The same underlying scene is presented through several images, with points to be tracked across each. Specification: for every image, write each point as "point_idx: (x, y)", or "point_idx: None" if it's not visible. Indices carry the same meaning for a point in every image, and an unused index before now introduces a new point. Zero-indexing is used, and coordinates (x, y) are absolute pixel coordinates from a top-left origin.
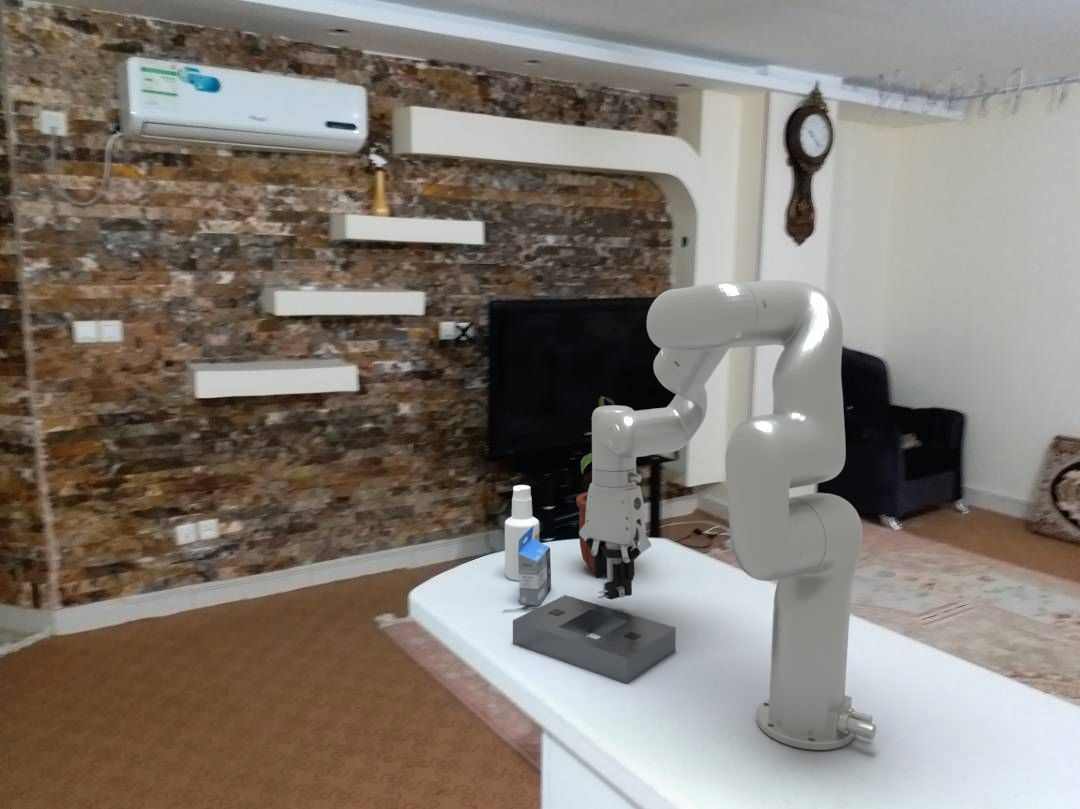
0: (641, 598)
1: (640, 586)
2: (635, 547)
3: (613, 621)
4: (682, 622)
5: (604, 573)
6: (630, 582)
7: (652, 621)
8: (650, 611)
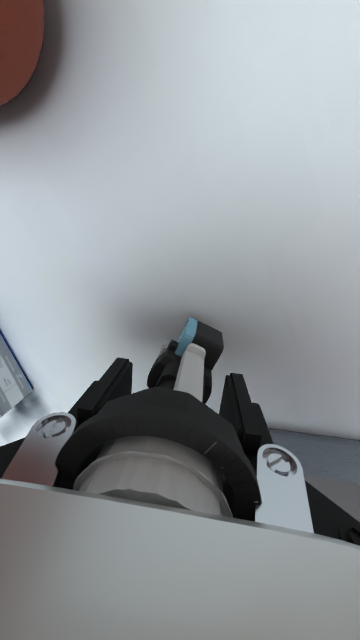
0: (199, 214)
1: (151, 114)
2: (310, 523)
3: None
4: (355, 307)
5: (129, 386)
6: (221, 350)
7: (351, 485)
8: (257, 287)
